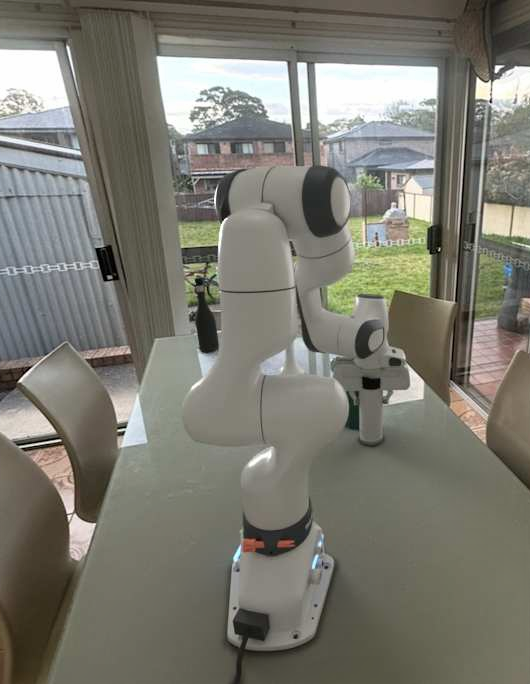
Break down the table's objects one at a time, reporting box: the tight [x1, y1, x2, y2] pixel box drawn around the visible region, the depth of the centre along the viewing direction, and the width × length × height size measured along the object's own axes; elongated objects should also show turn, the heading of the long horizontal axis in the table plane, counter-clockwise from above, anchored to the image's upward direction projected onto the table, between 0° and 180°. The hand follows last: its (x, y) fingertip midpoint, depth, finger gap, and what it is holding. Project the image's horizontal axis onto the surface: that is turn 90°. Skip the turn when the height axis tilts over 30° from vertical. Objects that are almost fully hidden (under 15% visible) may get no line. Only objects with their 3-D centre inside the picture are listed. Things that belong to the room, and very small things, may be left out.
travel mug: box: [359, 376, 384, 446], centre depth 117 cm, size 6×7×20 cm
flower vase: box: [277, 313, 306, 375], centre depth 150 cm, size 13×18×25 cm
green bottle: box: [345, 391, 360, 430], centre depth 125 cm, size 7×7×19 cm
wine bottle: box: [194, 276, 220, 353], centre depth 177 cm, size 8×8×30 cm
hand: (371, 403), depth 116 cm, fingers closed on travel mug, 6 cm apart
